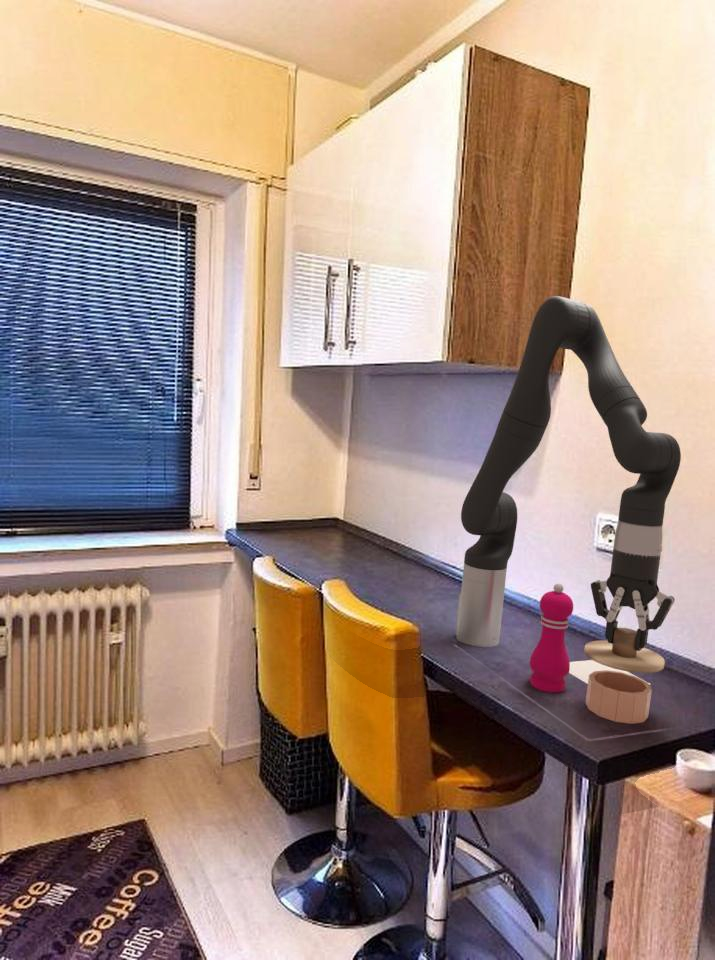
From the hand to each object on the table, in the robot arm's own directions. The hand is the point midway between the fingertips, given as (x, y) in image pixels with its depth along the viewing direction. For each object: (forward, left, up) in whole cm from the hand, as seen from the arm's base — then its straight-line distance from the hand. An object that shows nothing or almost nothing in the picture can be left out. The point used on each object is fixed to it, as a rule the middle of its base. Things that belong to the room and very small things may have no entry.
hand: (625, 645), depth 118 cm
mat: (-14, +9, -12) cm, 21 cm away
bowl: (0, 0, -12) cm, 12 cm away
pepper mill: (-12, -6, -12) cm, 18 cm away
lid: (0, 0, -2) cm, 2 cm away
